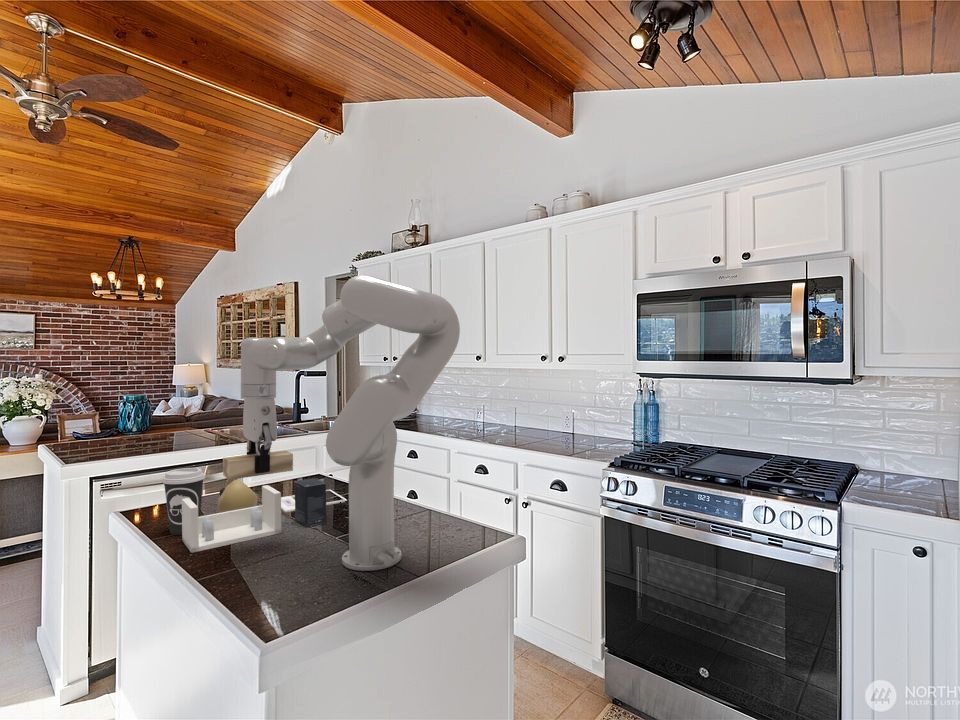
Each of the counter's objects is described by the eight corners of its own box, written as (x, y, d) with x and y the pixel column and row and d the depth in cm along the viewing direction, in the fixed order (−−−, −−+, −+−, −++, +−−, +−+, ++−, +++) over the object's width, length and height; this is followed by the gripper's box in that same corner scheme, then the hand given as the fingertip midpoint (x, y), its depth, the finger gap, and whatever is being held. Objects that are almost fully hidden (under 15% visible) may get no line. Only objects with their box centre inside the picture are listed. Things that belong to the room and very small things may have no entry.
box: (326, 522, 139) (326, 482, 139) (305, 527, 135) (305, 486, 135) (315, 515, 145) (314, 477, 145) (294, 520, 141) (294, 480, 141)
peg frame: (281, 532, 131) (280, 492, 131) (191, 552, 119) (190, 508, 118) (268, 522, 139) (267, 485, 139) (182, 540, 126) (181, 499, 126)
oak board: (292, 470, 125) (292, 453, 125) (229, 479, 116) (229, 461, 116) (285, 466, 129) (285, 450, 128) (223, 475, 120) (223, 457, 119)
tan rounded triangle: (252, 509, 151) (252, 472, 151) (260, 520, 141) (260, 480, 141) (214, 515, 146) (213, 477, 146) (219, 527, 136) (219, 486, 136)
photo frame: (271, 498, 160) (330, 488, 171) (272, 501, 160) (330, 492, 171) (285, 509, 148) (347, 499, 159) (285, 513, 148) (347, 502, 159)
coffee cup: (214, 527, 135) (213, 469, 135) (176, 539, 127) (175, 477, 127) (192, 521, 140) (191, 465, 140) (154, 532, 132) (153, 472, 132)
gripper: (288, 393, 118) (287, 475, 118) (263, 388, 131) (262, 461, 131) (253, 395, 113) (252, 480, 113) (230, 389, 126) (230, 465, 126)
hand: (258, 469), depth 122 cm, fingers closed on oak board, 5 cm apart
